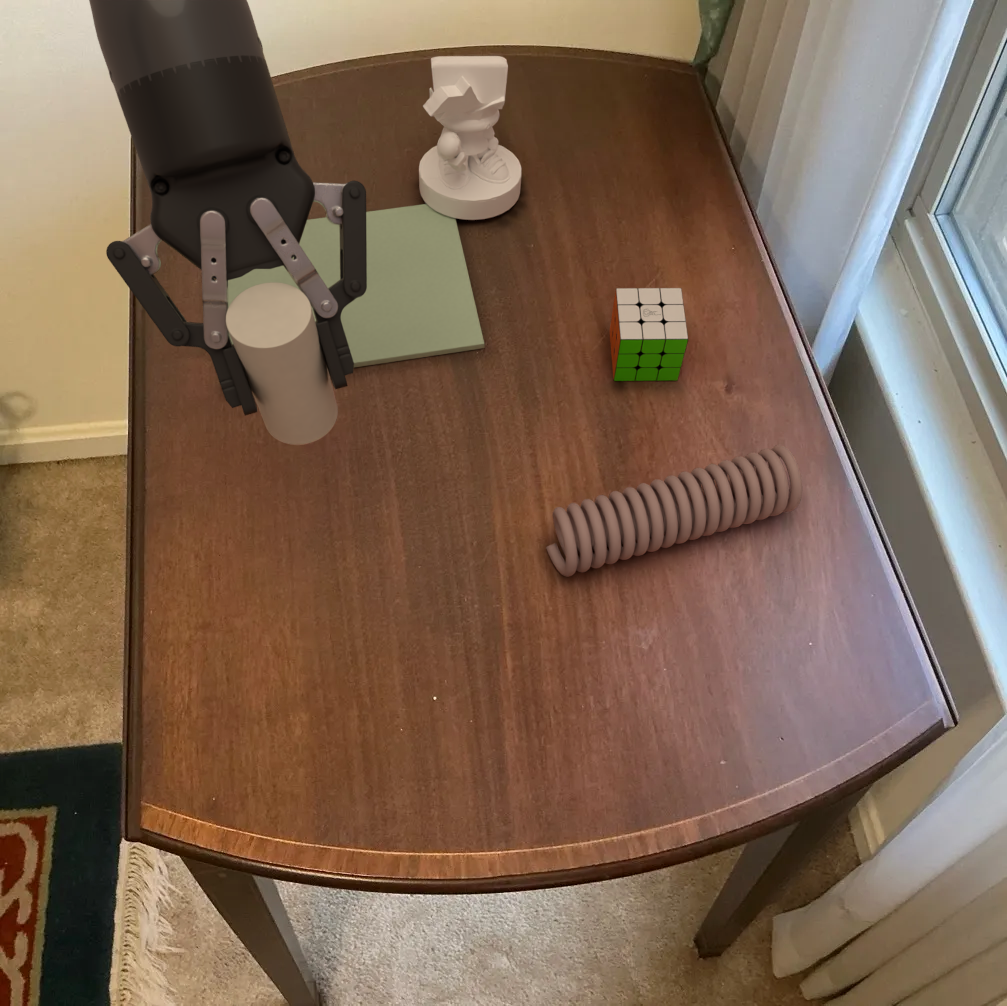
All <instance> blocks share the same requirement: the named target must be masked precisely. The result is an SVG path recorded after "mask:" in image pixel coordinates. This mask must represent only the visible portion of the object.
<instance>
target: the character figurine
mask: <svg viewBox="0 0 1007 1006" xmlns="http://www.w3.org/2000/svg"><path fill="white" fill-rule="evenodd" d="M430 65H431V75H432V87H433V88H432V87H430V88H429V98H428V99H427V100H426V102H425V103H423V105H422V107H423V109H424V110H425V111H426V113H427V114H428V115H429V116H430V117H433V118H434V119H435V120H436V121H437V122H439V123H440V124H441V125H442V126H443V128H442V130H441V133H440V136H439V138H438V140H437V144H436V145H435V146H433V147H431V148H430V149H429V150H428V151H427V152H425V153H424V155H423V156H422V158H421V159H420V161H419V166H418V179H419V180H418V185H419V186H418V187H419V188H418V189H419V193H420V194H419V195H420V197H421V198H422V200H423V201H424V203H425V204H428V205H429V206H430V207H431V208H432V209H434V210H435V211H437V212H439V213H441V214H443V215H446V216H449V217H453V218H456V219H459V220H466V221H467V220H468V221H475V220H476V221H477V220H485V219H491V218H494V217H497V216H500V215H503V214H504V213H506V212H507V211H510V209H511V208H512V207H513V206H515V204H516V203H517V201H518V200H519V199H520V194H521V187H522V186H521V184H522V165H521V162H520V160H519V159H518V158H517V156H516V155H515V154H514V153H513V152H512V151H510V150H509V149H507V148H506V147H505V146H502V144H501V145H500V144H499V139H498V138H497V137H495V135H496V133H495V130H494V128H493V127H494V126H495V125H496V124H497V123H498V122H499V119H500V111H499V110H503V107H504V106H505V102H506V92H507V91H506V90H507V82H508V72H509V71H508V70H509V65H508V61H507V58H505V57H504V56H502V55H453V56H452V55H451V56H450V55H447V56H444V55H443V56H442V55H441V56H433V57H431V58H430Z"/></svg>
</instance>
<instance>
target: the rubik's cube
mask: <svg viewBox="0 0 1007 1006" xmlns="http://www.w3.org/2000/svg"><path fill="white" fill-rule="evenodd" d="M608 333H609V342H610V355H611V367H612V378H613V382H648V381H649V382H656V381H657V382H658V381H660V382H661V381H667V382H668V381H671V382H672V381H677V382H678V380H679V377H680V373H681V369H682V365H683V362H684V358H685V354H686V349H687V346H688V342H689V332H688V325H687V319H686V312H685V303H684V296H683V288H682V287H640V288H639V287H616V288H615V292H614V298H613V305H612V311H611V319H610V325H609V332H608Z"/></svg>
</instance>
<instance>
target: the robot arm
mask: <svg viewBox="0 0 1007 1006" xmlns="http://www.w3.org/2000/svg"><path fill="white" fill-rule="evenodd" d="M88 1H89V5H90V10H91V14H92V15H91V16H92V20H93V25H94V29H95V33H96V39H97V41H98V44H99V48H100V50H101V53H102V56H103V59H104V62H105V65H106V68H107V71H108V75H109V78H110V81H111V82H112V85H113V87H114V91H115V93H116V96H117V99H118V102H119V106H120V107H121V111H122V114H123V116H124V120H125V123H126V126H127V128H128V131H129V134H130V137H131V139H132V143H133V145H134V148H135V151H136V154H137V156H138V159H139V162H140V165H141V168H142V171H143V175H144V177H145V179H146V180H145V181H146V183H147V186H148V189H149V192H150V195H151V211H150V215H149V221H150V223H149V224H148V225H147V226H144V227H143V228H141V229H140V230H138V231H137V232H135V233H133V234H132V235H130V236H128V237H127V238H126V239H124V240H114V241H112V242H110V243H109V244H108V245H107V247H106V251H105V252H106V253H105V254H106V257H107V260H108V261H109V262H110V263H111V265H112V267H113V268H114V269H115V270H116V272H117V273H118V274H119V276H120V277H121V279H122V280H123V282H124V283H125V284H126V286H127V287H128V288H129V290H130V291H131V293H132V294H133V296H135V299H136V300H137V301H138V302H139V304H140V305H141V307H142V308H143V309H144V311H145V312H146V313H147V315H148V316H149V318H150V319H151V320H152V322H153V323H154V324H155V326H156V327H157V329H158V330H159V331H160V333H161V334H162V336H163V337H164V339H165V340H166V342H167V343H169V345H171V346H173V347H176V348H177V347H188V348H189V347H190V348H199V349H201V350H204V351H205V352H207V354H209V357H210V359H211V361H212V364H213V367H214V370H215V373H216V376H217V380H218V382H219V385H220V388H221V391H222V394H223V397H224V400H225V401H226V403H227V404H228V405H229V406H230V407H231V408H232V409H235V408H237V407H241V409H242V412H243V414H244V416H245V417H246V416H250V415H253V414H256V413H258V412H259V408H258V406H257V403H256V401H255V398H254V396H253V393H252V390H251V387H250V385H249V382H248V379H247V377H246V374H245V372H244V369H243V366H242V364H241V361H240V359H239V356H238V354H237V351H236V349H235V347H234V344H232V342H231V339H230V336H229V331H228V329H227V326H226V314H227V310H228V280H231V279H235V278H239V277H242V276H244V275H245V274H247V273H249V272H250V271H252V270H254V269H272V268H276V267H280V266H284V267H285V269H286V270H287V272H288V273H289V275H290V276H291V278H292V279H293V281H294V282H295V283H296V285H297V286H298V288H299V289H300V290H301V291H302V292H303V293H304V294H305V295H306V297H307V298H308V300H309V302H310V304H311V307H312V308H313V312H314V315H315V318H316V321H315V323H316V327H317V331H318V335H319V339H320V343H321V346H322V350H323V354H324V358H325V361H326V365H327V368H328V372H329V376H330V380H331V384H332V387H333V389H335V390H339V389H342V388H346V387H348V386H349V385H348V381H347V378H346V376H347V375H348V376H349V375H351V374H354V368H355V367H354V362H353V358H352V355H351V352H350V349H349V345H348V342H347V339H346V335H345V332H344V329H343V326H342V322H341V312H342V310H343V309H344V307H345V306H346V305H348V304H349V303H351V302H352V301H353V300H355V299H356V298H358V297H361V296H362V295H363V294H364V293H365V292H366V289H367V242H366V212H367V190H366V187H365V186H364V184H363V183H362V182H360V181H358V180H349V181H348V182H346V183H334V182H314V181H313V180H312V177H311V176H310V175H309V174H308V173H307V172H306V171H305V169H303V168H302V166H301V164H300V163H299V161H298V160H297V158H296V154H295V152H294V149H293V146H292V143H291V139H290V136H289V132H288V129H287V126H286V123H285V119H284V115H283V112H282V109H281V106H280V103H279V100H278V97H277V93H276V89H275V87H274V82H273V80H272V76H271V73H270V70H269V67H268V63H267V60H266V57H265V56H266V55H265V53H264V48H263V44H262V40H261V38H260V36H259V33H258V30H257V26H256V23H255V19H254V17H253V14H252V13H253V12H252V10H251V8H250V5H249V1H248V0H88ZM314 203H317V204H319V205H321V206H322V208H323V210H324V213H325V217H326V218H327V219H328V221H329V222H330V223H332V224H335V225H339V227H340V280H339V281H338V282H336V283H335V284H333V285H332V286H331V287H329V288H327V286H326V285H325V283H324V282H323V280H322V279H321V277H320V276H319V274H318V272H317V271H316V269H315V267H314V266H313V264H312V263H311V261H310V260H309V258H308V257H307V255H306V254H305V252H304V251H303V249H302V248H301V246H300V245H299V243H300V240H301V237H302V234H303V231H304V228H305V225H306V222H307V220H309V215H310V213H311V209H312V208H313V207H312V206H313V204H314ZM162 242H164V243H165V245H167V246H169V247H170V248H171V249H173V250H174V251H176V252H177V253H178V254H179V255H181V256H182V257H184V258H185V260H187V261H189V262H190V263H191V264H193V265H194V266H195V267H196V268H198V269H199V270H200V271H201V298H202V299H201V300H202V320H203V322H195V321H188V320H187V319H186V318H185V317H184V315H183V314H182V312H181V311H180V310H179V308H178V307H177V305H176V304H175V302H174V300H173V299H172V298H171V297H170V295H169V294H168V293H167V291H166V289H165V288H164V287H163V285H162V284H161V282H160V281H159V279H158V278H157V277H156V275H155V274H156V273H158V272H159V271H160V269H161V266H162V262H161V258H160V256H159V253H158V248H159V245H160V244H161V243H162ZM293 257H294V259H292V258H293Z"/></svg>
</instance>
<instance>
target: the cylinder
mask: <svg viewBox="0 0 1007 1006" xmlns="http://www.w3.org/2000/svg"><path fill="white" fill-rule="evenodd" d="M226 326H227V329H228V331H229V334H230V336H231V339H232V342H233V344H234V347H235V349H236V351H237V354H238V356H239V359H240V361H241V364H242V366H243V369H244V372H245V374H246V377H247V379H248V382H249V385H250V387H251V390H252V393H253V396H254V399H255V402H256V405H257V409H258V412H259V415H260V416H261V418H262V421H263V424H264V426H265V429H266V430H267V432H268V433H269V434H270V436H272V437H273V438H274V439H275V440H277V441H279V442H281V443H283V444H287V445H292V446H293V445H294V446H300V445H301V446H303V445H308V444H311V443H314V442H316V441H318V440H320V439H322V438H324V437H325V436H326V435H327V434H328V433H329V432H331V430H332V429H333V427H334V426H335V424H336V422H337V420H338V416H339V406H338V403H337V400H336V399H337V398H336V394H335V391H334V387H333V384H332V381H331V378H330V375H329V372H328V368H327V365H326V361H325V358H324V354H323V350H322V346H321V343H320V339H319V335H318V331H317V327H316V323H315V319H314V316H313V312H312V308H311V304H310V302H309V300H308V298H307V297H306V295H305V294H304V293H303V292H302V291H300V290H299V289H297V288H296V287H294V286H291V285H288V284H284V283H278V282H270V283H263V284H258V285H255V286H253V287H250V288H248V289H246V290H245V291H243V292H242V293H240V294H239V295H238V296H237V297H236V298H235V299H234V300H233V301H232V303H231V304H230V306H229V308H228V310H227V314H226Z"/></svg>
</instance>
